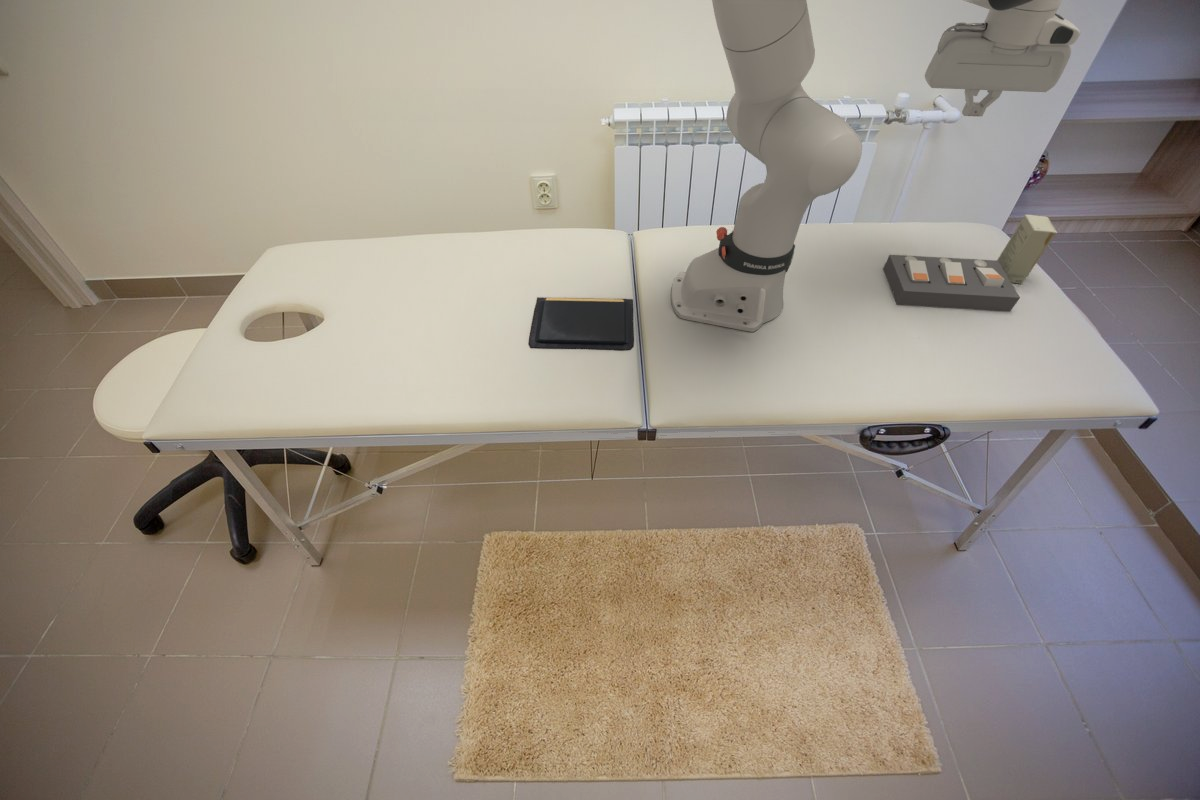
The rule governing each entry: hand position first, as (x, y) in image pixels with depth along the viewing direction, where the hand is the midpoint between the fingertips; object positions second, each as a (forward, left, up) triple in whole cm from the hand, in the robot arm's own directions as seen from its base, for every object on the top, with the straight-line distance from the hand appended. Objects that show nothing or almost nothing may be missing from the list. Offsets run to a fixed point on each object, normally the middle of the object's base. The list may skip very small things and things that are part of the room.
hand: (971, 115), depth 100 cm
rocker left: (0, -8, -28) cm, 29 cm away
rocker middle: (+7, -8, -28) cm, 30 cm away
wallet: (-66, -26, -32) cm, 78 cm away
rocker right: (+14, -8, -28) cm, 32 cm away
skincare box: (+22, -2, -31) cm, 38 cm away
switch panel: (+7, -8, -31) cm, 33 cm away
